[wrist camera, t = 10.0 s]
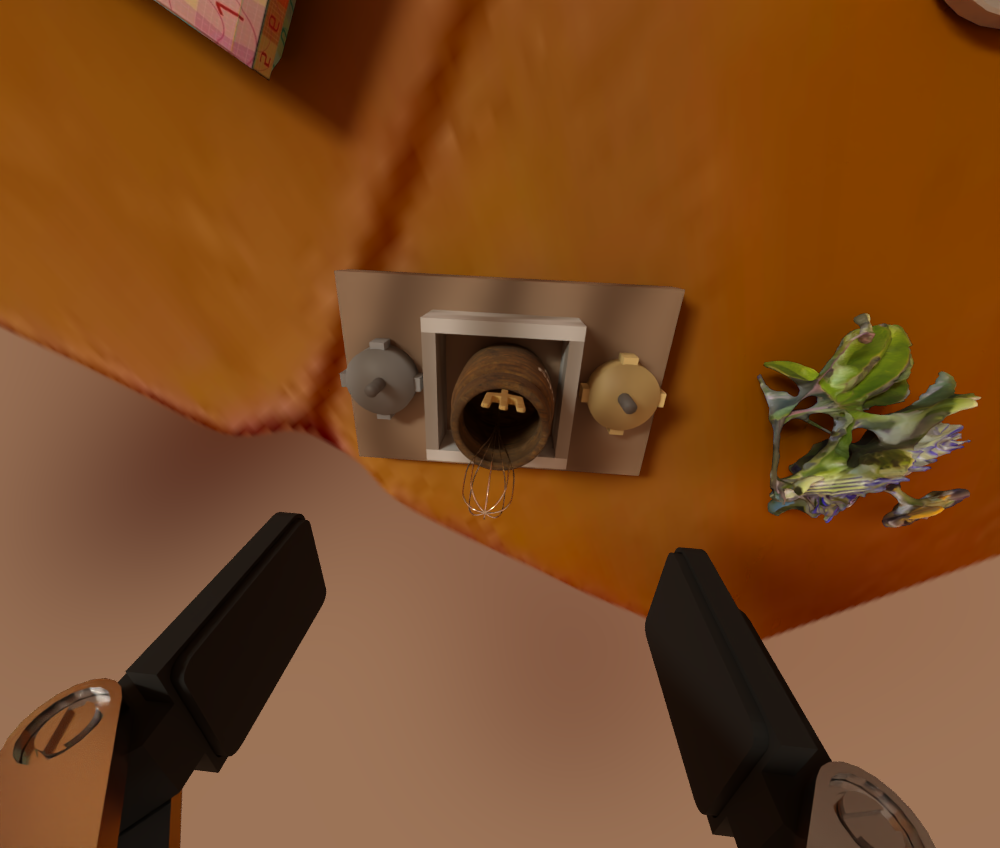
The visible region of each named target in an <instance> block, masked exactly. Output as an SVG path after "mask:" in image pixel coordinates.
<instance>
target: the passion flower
mask: <svg viewBox="0 0 1000 848" xmlns="http://www.w3.org/2000/svg"><path fill="white" fill-rule="evenodd" d="M870 320H871V318H870V315H869V314H867V313H866V314H860V315H858V316H857V317H855V318H854V322H855V323H856V324H858V325H859V326H860V329H856V330H853V331H851V332H850V333H848V334H847V335H846V336H845V337H844V338H843V339H842V341H841V343H840V345H839V347H838V348H837V350H836V352H835V354H834V356H833V357H832V358H831V359H830V360H829V361H828V362H827V364H826V365H825V367H824V368H823V369H822V371H821V372H820V373H817V372H816V371H815V370H814V369H812V368H809V367H806V366H803V365H801V364H798V363H794V362H790V361H772V362H765V363H764V366H765V367H767V368H771V369H773V370H775V371H777V372H779V373H781V374H783V375H785V376H787V377H788V378H790V379H791V380H793V381H794V382H795V383H796V384H797V386H798V387H799V389H800V392H799V395H798V396H796V397H793V396H791V395H789V394H788V393H787V392H784V391H780V392H779V391H773V390H771V389H770V388H769V387H768V386H767V385H766V384H765V382H764V380H763V378H762V376H761V374H760V375H758V376H757V378H758V380H759V382H760V386H761V388H762V390H763V392H764V394H765V397H766V400H767V403H768V405H769V408H770V409H769V421H770V422H771V424H772V426H773V431H774V439H773V460H772V469H771V473H770V478H771V480H770V488H771V489H772V492H771V493H770V495H769V496H770V497H771V498H772V500H771V501H770V502H769V503H768V511H769V512H770V513H772V514H774V515H776V516H779V515H780V514H781V513H783V512H785V511H787V510H789V509H798V510H801V511H803V512H805V513H807V514H808V515H810V516H811V517H812V518H817V517H818V516H819V515H820V514H824V516H825V517H824V520H825V522H826V523H828V522H829V521H831V519H832V518H833V516H835V515H837V514H838V513H839V512H840V511H843V510H845V508H846V507H850V506H851V505H853V504H854V503H855V501H856V500H857V499H858V497H859V496H861V497H865V496H866V494H867V493H876V492H882V491H885V492H888V493H890V494H892V495H893V496H894V497H895V498H897V500H898V502H899V503H898V504H897V505H895V506H894V508H893V511H891V512H890V513H888V514H886V515H885V516H884V517H883V520H882V522H883V525H884V526H885V527H900V526H906V525H910V524H912V523H913V522H914V521H917V520H919V519H927V518H928V517H929V516H932V515H936V514H938V513H940V512H942V511H943V510H944V509H946V508H949V507H952V506H954V505H955V504H957V503H959V502H961V501H962V500H963V499H964V498H966V497H969V496H970V493H969V491H968V490H966V489H953V490H948V491H933V492H930V493H929V494H927V495H926V496H924V497H923V498H921V499H914V498H912V497H910V496H908V495H907V494H905V493H904V492H903V491H901V489H900V488H901V486H900V482H902V481H910V479H908V478H905V477H904V476H906V475H909V474H911V472H913V471H914V472H917V471H926V470H927V469H931V467H922V466H924V465H927V464H929V463H933V462H936V461H937V459H934V458H936V457H938V456H941V455H944V454H949V453H951V451H952V450H955V449H958V448H963V447H964V446H957V445H961V444H963V443H964V442H970V440H967V441H955V440H957V439H959V438H961V437H960V436H961V434H958V433H957V432H959V431H961V430H962V429H963V426H961V425H950V424H948V423H947V424H944V423H941V422H942V421H943V420H944V418H945V417H947V416H948V415H951V414H954V413H956V412H959V411H961V410H964V409H968V408H973V407H976V406H978V403H977V402H976V401H975V400H978V399H980V398H981V397H978V396H975V395H974V393H969V394H954V392H955V390H954V389H955V387H956V382H955V380H954V378H953V376H951V375H949V374H948V373H945V372H943V371H942V372H939V373H938V374H939V377H938V378H937V379H936V383H935V384H933V385H930V386H929V389H928V390H927V392H926V393H924V394H922V395H921V396H919V400H918V401H916V402H914V403H913V404H912V405H910V406H908V407H906V408H904V409H902V410H900V411H897V412H894V413H890V414H886V415H877V414H871V413H866V412H864V411H863V410H869V408H871V407H872V406H886V405H890V404H895V403H900V402H904V401H905V400H904V399H906V398H907V396H908V395H909V394H910V391H909V389H908V388H909V385H908V383H907V381H906V379H908V377H909V375H910V373H911V371H910V370H911V368H912V366H913V364H914V362H913V359H912V356H911V354H910V352H911V350H910V348H909V347H910V346H912V343H911V342H910V339H909V337H908V335H907V334H906V332H905V331H904V330H903V328H902V327H900V326H899V325H887V324H879V325H875V326H872V325H871V324H870ZM824 375H825V376H824ZM807 396H816V397H817V404H815V405H814V406H812V407H811V408H808V409H804V410H795V411H794V410H793V409H794V408H795V407H796V405H797V404H798V403H799V402H800V401H801V400H803V399H804V398H806V397H807ZM813 413H825V414H829V415H830V416H831V417H833V419H834V426H833V429H832V432H831V431H829V430H827V429H825V428H823V427H821V426H820V425H818V424H816V423H815V422H813V421H811V420H809V415H810V414H813ZM791 419H801V420H803V421H805V422H807V423H809V424H811V425H813V426H815V427H817V428H819V429H821V430H823V431H825V432H827V433H829V434H831V435H830V437H829V439H826V440H824V441H822V442H820V443H817V444H814V445H813V446H812V448H811V450H810V451H809V452H808V454H806V455H805V456H803V457H802V458H800V459H799V460H798V461H797V462H796V463H794V464H792V465H790V466H789V470H790V472H791V473H793V475H791V476H788V477H786V478H783V479H780V478H778V477H777V467H778V463H779V458H780V454H779V443H780V432H781V429H782V427H783V426H784V424H785V423H786V422H788V421H790V420H791ZM855 428H865V429H867V431H866V432H865V434H864V435H863V437H862V438H861V439H860V441H858V442H856V443H851V441H852V430H853V429H855ZM955 433H957V434H955Z"/></svg>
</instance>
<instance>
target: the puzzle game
mask: <svg viewBox="0 0 1000 848" xmlns="http://www.w3.org/2000/svg"><path fill="white" fill-rule="evenodd" d="M154 1H156V2H157V3H159V4H160V5H161V6H163V7H164V8H166V9H167V10H169V11H170V12H171V13H173V14H174V15H176V16H177V17H179V18H180V19H181V20H183V21H184V22H186V23H187V24H189V25H190V26H191V27H193V28H194V29H196V30H197V31H199V32H200V33H201V34H203V35H204V36H206V37H207V38H209V39H210V40H211V41H213V42H214V43H216V44H217V45H219V46H220V47H221V48H223V49H224V50H226V51H227V52H229V53H230V54H231V55H233V56H234V57H236V58H237V59H239V60H240V61H241V62H243V63H244V64H246V65H247V66H249V67H250V68H251V69H253V70H254V71H256V72H257V73H259V74H260V75H262V76H263V77H265V78H266V79H268V80H269V79H270V75H271V71H272V70H273V68H274V67H275V66H276V64H277V63H278V61H279V60H280V59H281V57H282V53H283V49H284V45H285V42H286V38H287V34H288V30H289V26H290V22H291V19H292V15H293V11H294V7H295V3H296V0H154Z"/></svg>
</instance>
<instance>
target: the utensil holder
mask: <svg viewBox="0 0 1000 848" xmlns="http://www.w3.org/2000/svg"><path fill="white" fill-rule="evenodd" d="M553 415H554V396H553V390H552V386H551V382H550V378H549V375H548V372H547V370H546V367H545V366H544V364H543V362H542V361H541V360H540V359H539V357H538V356H537V355H536V354H535V353H533V352H532V351H531V350H529V349H527V348H526V347H523V346H521V345H518V344H514V343H496V344H492V345H489V346H486V347H484V348H482V349H481V350H479V351H478V352H477V353H475V354H474V355H473V356H472V357H471V358H470V359H469V361H468V362H467V363H466V365H465V367H464V368H463V370H462V372H461V374H460V376H459V378H458V380H457V382H456V385H455V387H454V390H453V394H452V399H451V418H450V424H451V433H452V437H453V439H454V442H455V444H456V446H457V447H458V449H459V450H460V451H461V453H462V454H463V455H464V456H465V457H466V458H468V459H469V460H470V461H471V462H473V467H474V463H475V464H477V465H479V466H481V467H484V468H487V469H490V475H489V482H488V489H487V497H486V504H485V512H484V511H483V510H482V508H481V507H480V506H479V505H478V503H477V501H476V499H475V497H474V494H473V490H472V485H473V482H474V479H473V482H472V473H473V467H472V473H471V490H472V494H473V497H474V499H475V501H476V503H477V505H478V506H479V508H480V509H481V510H482V511H483V512H482V511H478V510H475V509H474V508H472V507H471V506H469V505H468V503H467V502H466V500H465V498H464V495H463V490H464V483H465V477H466V473H467V470H468V467H469V465H470V463H471V462H470V463H469V465H468V467H467V470H466V473H465V477H464V483H463V490H462V495H463V499H464V501H465V502H466V504H467V505H468V507H469V511H470V508H471V509H473V510H475V511H478V512H481V513H482V514H484V519H485V514H486V515H488V514H487V513H489V514H491V513H498V512H501V513H500V515H501V514H502V512H503V510H504V509H506V508H507V507H508V506H509V505H510V503H511V501H512V498H513V491H514V481H513V491H512V498H511V501H510V503H509V504H508V505H507V506H506V507H505V508H504V509H503V507H504V500H505V491H506V488H507V484H508V477H509V470H511V469H512V470H513V469H516V468H519V467H521V466H524V465H526V464H528V463H529V462H531V461H532V460H533V459H535V458H536V457H537V456H538V455H539V454H540V453H541V451H542V450H543V448H544V447H545V445H546V443H547V440H548V437H549V434H550V429H551V422H552V419H553ZM479 466H478V468H479ZM491 470H503V472H504V470H508V477H507V484H505V491H504V493H503V495H504V500H503V507H502V510H500V511H498V512H488V511H490V510H491V509H492V508H494V507H495V506H496V505H497V504H498V503H499V501H500V500H501V498H502V497H503V495H502V496H501V498H500V499H499V501H498V502H497V503H496V504H495V505H494V506H493V507H492V508H491V509H489V510H488V511H486V506H487V499H488V491H489V484H490V477H491ZM477 471H478V469H477ZM477 471H476V473H477ZM476 473H475V476H476ZM475 476H474V478H475ZM513 477H514V470H513ZM504 481H505V473H504ZM470 497H471V491H470ZM470 497H469V504H470ZM470 513H471V514H472V515H475V516H478V515H482V514H477V515H476V514H473V513H472V512H471V511H470ZM500 515H499V516H500ZM488 516H489V517H492V516H490V515H488ZM499 516H497V517H499ZM497 517H492V518H497Z"/></svg>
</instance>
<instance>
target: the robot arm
mask: <svg viewBox="0 0 1000 848" xmlns="http://www.w3.org/2000/svg"><path fill="white" fill-rule="evenodd" d="M944 1H945V2H946V3H947V4H948V5H949V6H950V7H951V8H952V9H953V10H954V11H955V12H956V13H957V14H958V15H959V16H961V17H963V18H965V19H967V20H969V21H971V22H973V23H975V24H977V25H979V26H985V27H991V28H997V29H1000V0H944ZM325 596H326V587H325V583H324V579H323V575H322V570H321V566H320V562H319V558H318V554H317V550H316V546H315V541H314V537H313V533H312V529H311V525H310V522H309V521H308V520H305V518H304V516H303V515H302V514H296V513H284V512H279V513H276V514H275V515H273V516H272V518H270V520H269V521H268V522H267V523H266V524H265V525H264V526H263V527H262V528H261V529H260V530H259V531H258V532H257V533H256V534H255V536H254V537H252V539H251V540H250V541H249V542H248V543H247V544H246V545H245V546H244V547H243V548H242V549H241V550H240V551H239V552H238V553H237V554H236V556H234V558H233V559H232V560H231V561H230V562H229V563H228V564H227V565H226V566H225V567H224V568H223V569H222V570H221V571H220V572H219V573H218V575H217V576H216V577H215V578H214V579H213V580H212V581H211V582H210V583H209V584H208V585H207V586H206V587H205V588H204V589H203V590H202V591H201V592H200V594H198V596H197V597H196V598H195V599H194V600H193V601H192V602H191V603H190V604H189V605H188V606H187V607H186V608H185V609H184V610H183V611H182V612H181V614H180V615H179V616H178V617H177V618H176V619H175V620H174V621H173V622H172V623H171V624H170V625H169V626H168V627H167V628H166V629H165V630H164V631H163V633H162V634H161V635H160V636H159V637H158V638H157V639H156V640H155V641H154V642H153V643H152V644H151V645H150V646H149V647H148V648H147V649H146V650H145V651H144V653H143V654H142V655H141V656H140V657H139V658H138V659H137V660H136V661H135V662H134V663H133V664H132V665H131V666H130V667H129V668H128V669H127V670H126V674H125V675H124V676H123V677H122V679H121V680H120V681H119V682H118V683H117V682H116V681H115V680H111V679H107V678H102V679H93V680H89V681H86V682H83V683H80V684H77V685H75V686H72V687H71V688H69V689H67V690H65V691H63V692H61V693H59V694H57V695H55V696H54V697H52V698H51V699H49V700H48V701H47V702H45V703H44V704H42V705H41V706H39V707H38V708H37V709H36V710H34V711H33V712H32V713H31V714H30V715H29V716H28V717H27V718H25V719H24V720H23V721H22V722H21V723H20V724H19V725H18V727H17V728H16V729H15V730H14V731H13V732H12V733H11V735H10V736H9V737H8V738H7V740H6V742H5V744H4V746H3V747H2V749H1V750H0V848H180V842H181V841H180V840H181V811H182V788H183V786H184V785H185V783H186V782H187V780H188V779H189V777H190V776H191V774H192V772H193V771H194V770H200V771H208V772H216V773H218V772H219V771H220V769H221V768H222V766H223V764H224V763H225V761H226V759H227V757H228V756H232V755H233V754H235V753H236V752H237V750H238V749H239V748H240V746H241V745H242V743H243V741H244V740H245V738H246V736H247V735H248V733H249V731H250V729H251V728H252V726H253V724H254V722H255V721H256V719H257V717H258V716H259V714H260V712H261V710H262V709H263V707H264V705H265V703H266V702H267V700H268V698H269V697H270V695H271V693H272V691H273V690H274V688H275V686H276V684H277V682H278V681H279V679H280V677H281V676H282V674H283V672H284V670H285V669H286V667H287V665H288V664H289V662H290V660H291V658H292V657H293V655H294V653H295V651H296V650H297V648H298V646H299V644H300V643H301V641H302V639H303V638H304V636H305V634H306V632H307V631H308V629H309V627H310V625H311V624H312V622H313V620H314V618H315V617H316V615H317V613H318V611H319V610H320V608H321V606H322V605H323V603H324V600H325ZM645 631H646V637H647V641H648V644H649V647H650V651H651V654H652V658H653V661H654V664H655V668H656V671H657V674H658V678H659V681H660V685H661V688H662V691H663V695H664V698H665V702H666V705H667V709H668V712H669V715H670V719H671V722H672V726H673V729H674V732H675V736H676V739H677V743H678V746H679V749H680V753H681V756H682V759H683V763H684V766H685V770H686V773H687V777H688V780H689V783H690V787H691V790H692V793H693V797H694V800H695V803H696V805H697V807H698V809H699V811H700V812H701V813H702V814H704V815H707V818H708V821H709V824H710V827H711V831H712V834H715V835H722V836H730V837H734V838H735V841H736V844H737V847H738V848H935V846H934V844H933V842H932V840H931V838H930V836H929V834H928V832H927V830H926V829H925V828H924V826H923V825H922V824H921V822H920V821H919V819H918V818H917V817H916V815H915V814H914V813H913V811H912V810H911V809H910V808H909V807H908V806H907V805H906V804H905V803H904V802H903V801H902V800H901V798H900V797H899V796H897V794H896V793H895V792H894V791H892V790H891V789H890V788H889V787H887V786H886V785H885V784H883V782H881V781H880V780H879V779H878V778H876V777H875V776H873V775H871V774H869V773H868V772H866V771H864V770H863V769H861V768H859V767H857V766H854V765H851V764H848V763H845V762H832V761H831V759H830V758H829V756H828V754H827V752H826V750H825V749H824V747H823V745H822V744H821V742H820V740H819V739H818V737H817V735H816V733H815V731H814V730H813V728H812V726H811V725H810V723H809V721H808V720H807V718H806V716H805V714H804V713H803V711H802V709H801V707H800V706H799V704H798V702H797V701H796V699H795V697H794V695H793V694H792V692H791V690H790V689H789V687H788V685H787V683H786V682H785V680H784V678H783V677H782V675H781V673H780V671H779V670H778V668H777V666H776V664H775V663H774V661H773V659H772V658H771V656H770V654H769V652H768V651H767V649H766V647H765V646H764V644H763V642H762V640H761V639H760V637H759V635H758V633H757V632H756V630H755V628H754V627H753V625H752V623H751V621H750V620H749V619H748V617H747V616H746V614H745V613H743V612H742V611H741V610H739V609H738V607H737V606H736V604H735V602H734V600H733V599H732V597H731V595H730V593H729V592H728V590H727V588H726V586H725V585H724V583H723V581H722V579H721V578H720V576H719V574H718V572H717V570H716V569H715V567H714V565H713V563H712V562H711V560H710V558H709V556H708V555H707V553H706V552H705V551H704V550H702V549H692V548H681V547H678V548H677V549H676V550H675V553H669V555H668V557H667V560H666V563H665V566H664V569H663V571H662V574H661V577H660V580H659V583H658V586H657V589H656V592H655V595H654V598H653V601H652V604H651V607H650V610H649V613H648V616H647V618H646V622H645Z"/></svg>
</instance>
